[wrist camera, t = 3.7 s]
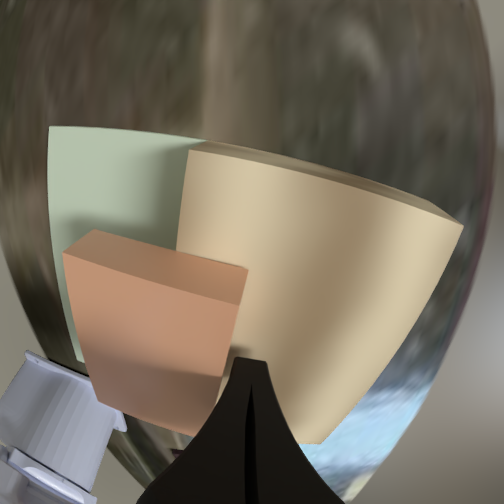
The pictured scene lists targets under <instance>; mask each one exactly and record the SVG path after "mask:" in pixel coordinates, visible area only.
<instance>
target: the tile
mask: <svg viewBox="0 0 504 504" xmlns="http://www.w3.org/2000/svg"><path fill="white" fill-rule="evenodd" d="M62 256H63V264H64V271H65V278H66V284H67V289H68V295H69V300H70V305H71V310H72V315H73V319H74V324H75V328H76V332H77V336H78V340H79V344H80V347H81V351H82V354H83V358H84V361H85V365H86V368H87V371H88V374H89V377H90V380H91V383H92V386H93V389H94V392H95V395H96V397H97V400H98V402H100V403H102V404H105V405H107V406H109V407H111V408H114V409H116V410H119V411H121V412H123V413H126V414H128V415H131V416H133V417H136V418H138V419H141V420H144V421H147V422H149V423H152V424H155V425H158V426H161V427H164V428H167V429H170V430H173V431H176V432H180V433H183V434H186V435H190V436H193V437H195V436H196V434H197V433H198V432H199V430H200V429H201V428H202V426H203V425H204V423H205V422H206V420H207V419H208V417H209V416H210V414H211V412H212V411H213V409H214V407H215V406H216V403H217V399H218V394H219V390H220V386H221V382H222V378H223V374H224V370H225V366H226V362H227V358H228V354H229V349H230V345H231V341H232V337H233V333H234V329H235V325H236V321H237V317H238V313H239V309H240V304H241V300H242V296H243V292H244V288H245V284H246V280H247V276H248V272H249V270H248V269H244V268H240V267H236V266H232V265H228V264H224V263H221V262H217V261H213V260H209V259H205V258H201V257H197V256H193V255H189V254H186V253H182V252H178V251H174V250H170V249H167V248H163V247H159V246H155V245H152V244H148V243H144V242H140V241H137V240H133V239H129V238H126V237H122V236H118V235H115V234H111V233H107V232H104V231H100V230H96V229H93V230H92V231H90V232H89V233H87V234H86V235H85V236H83V237H82V238H80V239H79V240H78V241H76V242H75V243H74V244H72V245H71V246H70V247H68V248H67V249H66V250H64V251H63V252H62Z"/></svg>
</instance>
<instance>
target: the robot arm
mask: <svg viewBox="0 0 504 504" xmlns="http://www.w3.org/2000/svg"><path fill="white" fill-rule="evenodd" d="M25 356H26V358H27V360H26V361H25V362H24V364H23V365H22V367H21V368H20V370H19V371H18V373H17V374H16V376H15V377H14V379H13V380H12V382H11V383H10V385H9V386H8V388H7V390H6V391H5V393H4V394H3V396H2V398H1V399H0V440H1V441H2V442H3V443H4V444H5V445H7V446H6V448H5V447H4V446H3V445H0V504H96V501H97V498H96V497H95V496H93V495H90V494H89V493H91V489H92V486H93V483H94V480H95V477H96V474H97V471H98V468H99V465H100V463H101V459H102V457H103V454H104V451H105V449H106V446H107V443H108V440H109V438H110V435H111V432H112V430H113V428H114V429H117V430H120V431H123V432H126V431H127V426H126V423H125V419H124V416H123V413H122V412H121V411H119V410H116V409H114V408H111V407H109V406H107V405H105V404H102V403H100V402H98V400H97V397H96V395H95V392H94V389H93V386H92V383H91V380H90V378H89V377H86V376H84V375H81V374H79V373H76V372H74V371H72V370H69V369H67V368H65V367H62V366H60V365H58V364H56V363H53V362H51V361H49V360H47V359H45V358H43V357H41V356H39V355H37V354H35V353H33V352H31V351H29V350H26V352H25ZM136 504H345V503H344V502H343V501H342V500H341V499H340V498H339V497H338V496H337V495H336V494H335V493H334V492H333V491H332V490H331V488H330V487H329V486H328V485H327V484H326V483H325V482H324V480H323V479H322V478H321V477H320V476H319V474H318V473H317V472H316V470H315V469H314V467H313V466H312V465H311V463H310V462H309V461H308V459H307V458H306V456H305V455H304V453H303V451H302V450H301V448H300V447H299V445H298V443H297V441H296V440H295V438H294V436H293V434H292V432H291V430H290V428H289V426H288V424H287V422H286V419H285V417H284V415H283V412H282V410H281V407H280V405H279V402H278V399H277V397H276V394H275V391H274V388H273V384H272V381H271V377H270V374H269V369H268V364H267V362H266V361H262V360H256V359H250V358H244V357H239V356H237V357H235V358H234V361H233V364H232V368H231V372H230V375H229V379H228V382H227V384H226V386H225V388H224V390H223V392H222V395H221V397H220V398H219V400H218V402H217V404H216V406H215V407H214V409H213V411H212V412H211V414H210V416H209V417H208V419H207V420H206V422H205V423H204V425H203V426H202V428H201V429H200V430H199V432H198V433H197V434H196V436H195V437H194V438H193V440H192V441H191V442H190V443H189V445H188V446H187V447H186V448H185V449H184V451H183V452H182V453H181V454H180V455H179V456H178V457H177V458H176V459H175V460H174V461H173V463H172V464H171V465H170V466H169V467H168V468H167V469H166V470H165V471H164V472H162V473H161V474H160V475H159V476H158V477H157V478H156V479H155V480H154V481H153V482H151V483H150V485H149V486H148V488H147V489H146V490H145V491H144V493H143V494H142V495H141V496H140V498H139V499H138V501H137V503H136Z"/></svg>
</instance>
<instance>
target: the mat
mask: <svg viewBox="0 0 504 504" xmlns="http://www.w3.org/2000/svg"><path fill="white" fill-rule="evenodd" d="M206 141H208V140H204V139H198V138H191V137H185V136H178V135H170V134H163V133H155V132H146V131H136V130H126V129H114V128H99V127H80V126H50V127H49V139H48V204H49V219H50V230H51V240H52V248H53V256H54V263H55V269H56V275H57V281H58V286H59V291H60V296H61V301H62V306H63V310H64V314H65V318H66V322H67V326H68V330H69V334H70V337H71V341H72V345H73V348H74V351H75V354H76V358H77V360H78V361H81V362H83V363H85V361H84V358H83V354H82V351H81V347H80V344H79V340H78V336H77V332H76V328H75V324H74V319H73V315H72V310H71V305H70V300H69V295H68V289H67V284H66V278H65V271H64V264H63V256H62V252H63V251H64V250H66V249H67V248H68V247H70V246H71V245H72V244H74V243H75V242H76V241H78V240H79V239H80V238H82V237H83V236H85V235H86V234H87V233H89V232H90V231H92V230H93V229H96V230H100V231H104V232H107V233H111V234H115V235H118V236H122V237H126V238H129V239H133V240H137V241H140V242H144V243H148V244H152V245H155V246H159V247H163V248H167V249H170V250H174V251H176V245H177V235H178V226H179V217H180V209H181V201H182V193H183V186H184V179H185V172H186V165H187V159H188V153H189V149H191V148H193V147H195V146H197V145H199V144H201V143H203V142H206Z"/></svg>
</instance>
